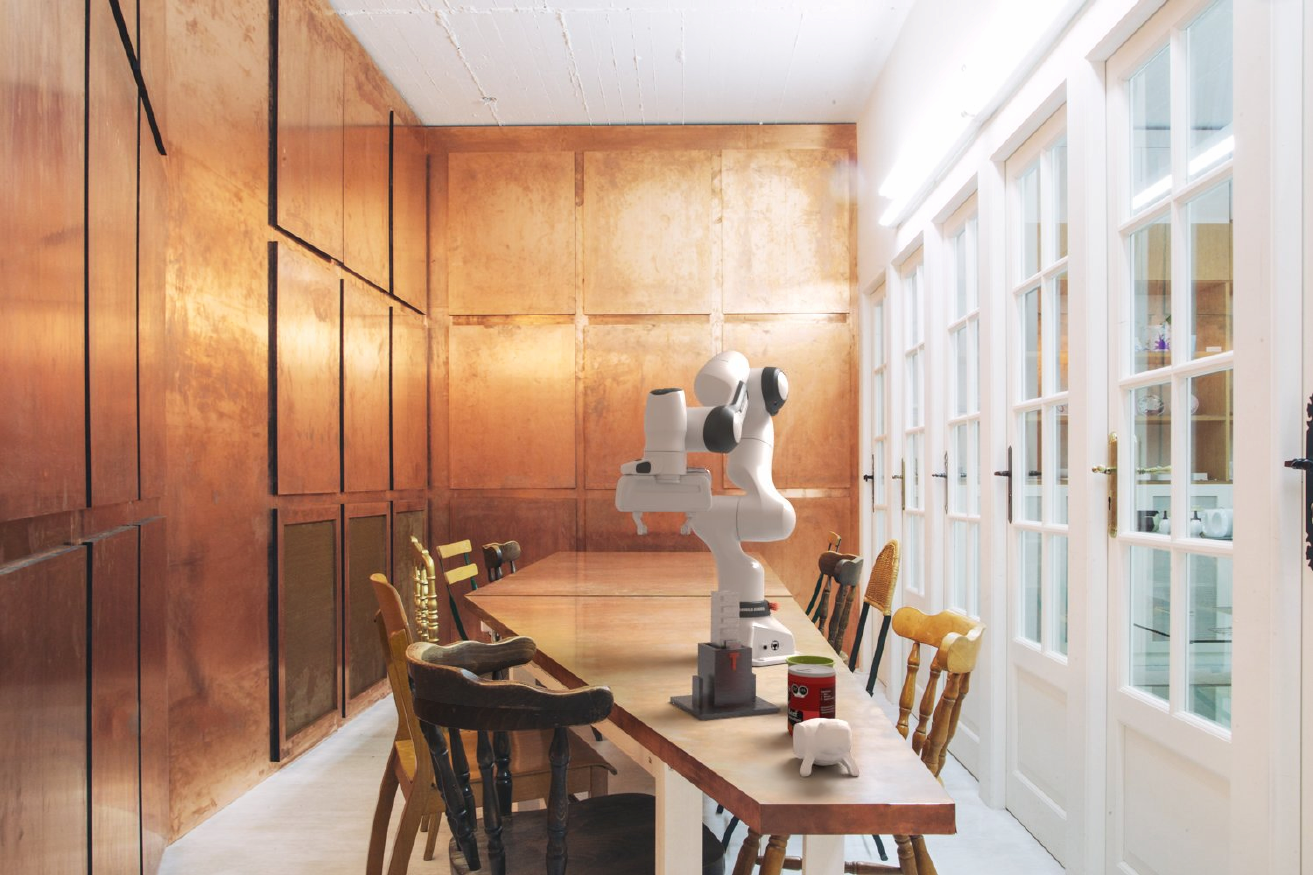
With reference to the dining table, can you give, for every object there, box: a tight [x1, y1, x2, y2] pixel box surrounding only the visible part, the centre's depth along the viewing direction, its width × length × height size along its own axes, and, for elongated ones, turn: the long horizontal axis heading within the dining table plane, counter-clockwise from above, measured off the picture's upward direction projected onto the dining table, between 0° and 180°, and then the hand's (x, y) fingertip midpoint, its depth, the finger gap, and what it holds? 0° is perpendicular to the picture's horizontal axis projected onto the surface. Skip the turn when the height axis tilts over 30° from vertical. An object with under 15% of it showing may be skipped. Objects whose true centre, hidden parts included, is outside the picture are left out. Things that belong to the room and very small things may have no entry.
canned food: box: [787, 664, 837, 737], centre depth 150 cm, size 8×8×11 cm
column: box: [710, 590, 739, 649], centre depth 167 cm, size 4×5×20 cm
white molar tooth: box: [792, 718, 861, 778], centre depth 131 cm, size 9×8×15 cm
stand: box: [669, 640, 781, 721], centre depth 167 cm, size 16×14×13 cm
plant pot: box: [786, 654, 837, 669], centre depth 169 cm, size 9×9×9 cm
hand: (664, 534), depth 181 cm, fingers open, 8 cm apart
